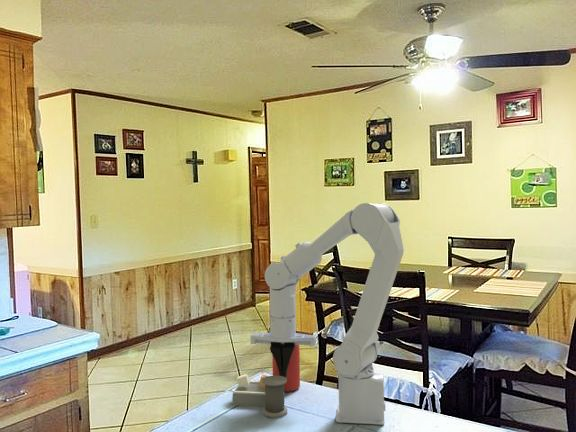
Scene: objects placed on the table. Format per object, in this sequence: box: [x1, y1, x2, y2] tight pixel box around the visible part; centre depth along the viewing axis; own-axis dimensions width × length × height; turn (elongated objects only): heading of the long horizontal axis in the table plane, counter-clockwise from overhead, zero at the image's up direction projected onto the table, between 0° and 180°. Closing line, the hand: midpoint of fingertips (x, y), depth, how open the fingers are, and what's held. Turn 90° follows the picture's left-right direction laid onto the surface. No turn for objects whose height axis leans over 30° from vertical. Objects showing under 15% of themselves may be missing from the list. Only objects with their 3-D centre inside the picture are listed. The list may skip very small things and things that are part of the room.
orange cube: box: [259, 374, 268, 387], centre depth 111 cm, size 2×2×2 cm
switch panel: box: [232, 380, 265, 408], centre depth 112 cm, size 8×8×3 cm
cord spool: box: [262, 375, 288, 419], centre depth 104 cm, size 5×5×7 cm
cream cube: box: [236, 373, 251, 387], centre depth 112 cm, size 2×2×2 cm
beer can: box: [271, 344, 301, 393], centre depth 118 cm, size 7×7×12 cm
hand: (283, 376), depth 110 cm, fingers closed
